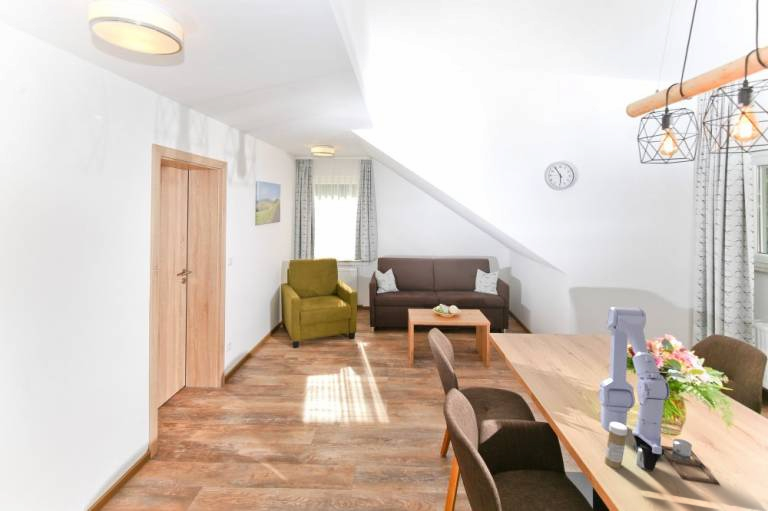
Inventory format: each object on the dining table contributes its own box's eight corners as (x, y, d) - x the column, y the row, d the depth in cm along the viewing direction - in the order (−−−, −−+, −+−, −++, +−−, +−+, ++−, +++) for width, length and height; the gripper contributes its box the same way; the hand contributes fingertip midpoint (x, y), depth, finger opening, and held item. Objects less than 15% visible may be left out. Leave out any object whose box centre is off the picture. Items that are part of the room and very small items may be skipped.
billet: (633, 464, 123) (635, 444, 122) (651, 466, 122) (652, 447, 121) (639, 473, 119) (640, 453, 118) (656, 475, 117) (658, 455, 117)
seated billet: (669, 456, 128) (670, 437, 127) (685, 458, 127) (687, 440, 126) (675, 464, 124) (677, 445, 123) (692, 467, 123) (694, 448, 122)
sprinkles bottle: (605, 461, 124) (612, 419, 122) (622, 468, 121) (629, 425, 119) (601, 467, 121) (607, 424, 119) (618, 475, 118) (625, 431, 116)
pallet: (658, 451, 131) (658, 445, 131) (690, 456, 128) (691, 449, 128) (681, 483, 115) (681, 476, 115) (718, 489, 113) (719, 483, 112)
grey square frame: (632, 450, 131) (633, 443, 130) (654, 453, 129) (655, 446, 129) (639, 461, 125) (639, 453, 125) (661, 464, 123) (662, 456, 123)
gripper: (626, 406, 127) (622, 448, 128) (642, 429, 113) (638, 476, 114) (652, 409, 125) (648, 452, 126) (672, 433, 111) (667, 481, 112)
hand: (645, 463), depth 120 cm, fingers closed on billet, 4 cm apart
